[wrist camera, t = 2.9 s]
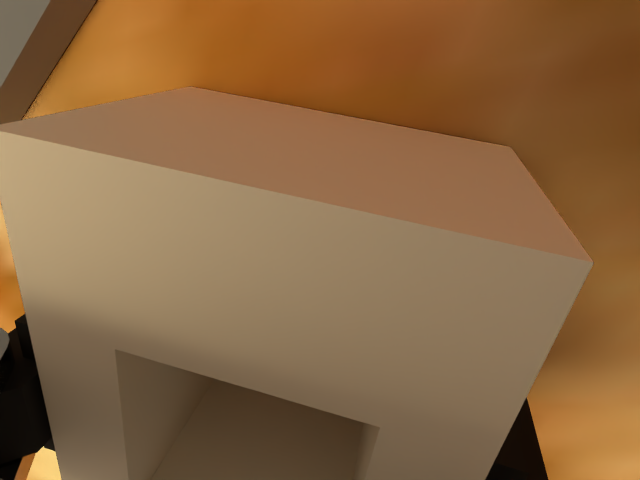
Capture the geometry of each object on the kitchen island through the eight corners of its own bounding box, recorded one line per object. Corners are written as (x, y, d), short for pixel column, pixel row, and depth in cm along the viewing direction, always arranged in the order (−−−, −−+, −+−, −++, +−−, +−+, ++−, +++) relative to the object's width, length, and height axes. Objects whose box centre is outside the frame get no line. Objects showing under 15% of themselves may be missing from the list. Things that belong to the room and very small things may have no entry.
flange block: (189, 86, 10) (-17, 127, 5) (511, 146, 9) (594, 262, 4) (190, 401, 14) (81, 566, 10) (399, 466, 13) (383, 682, 9)
